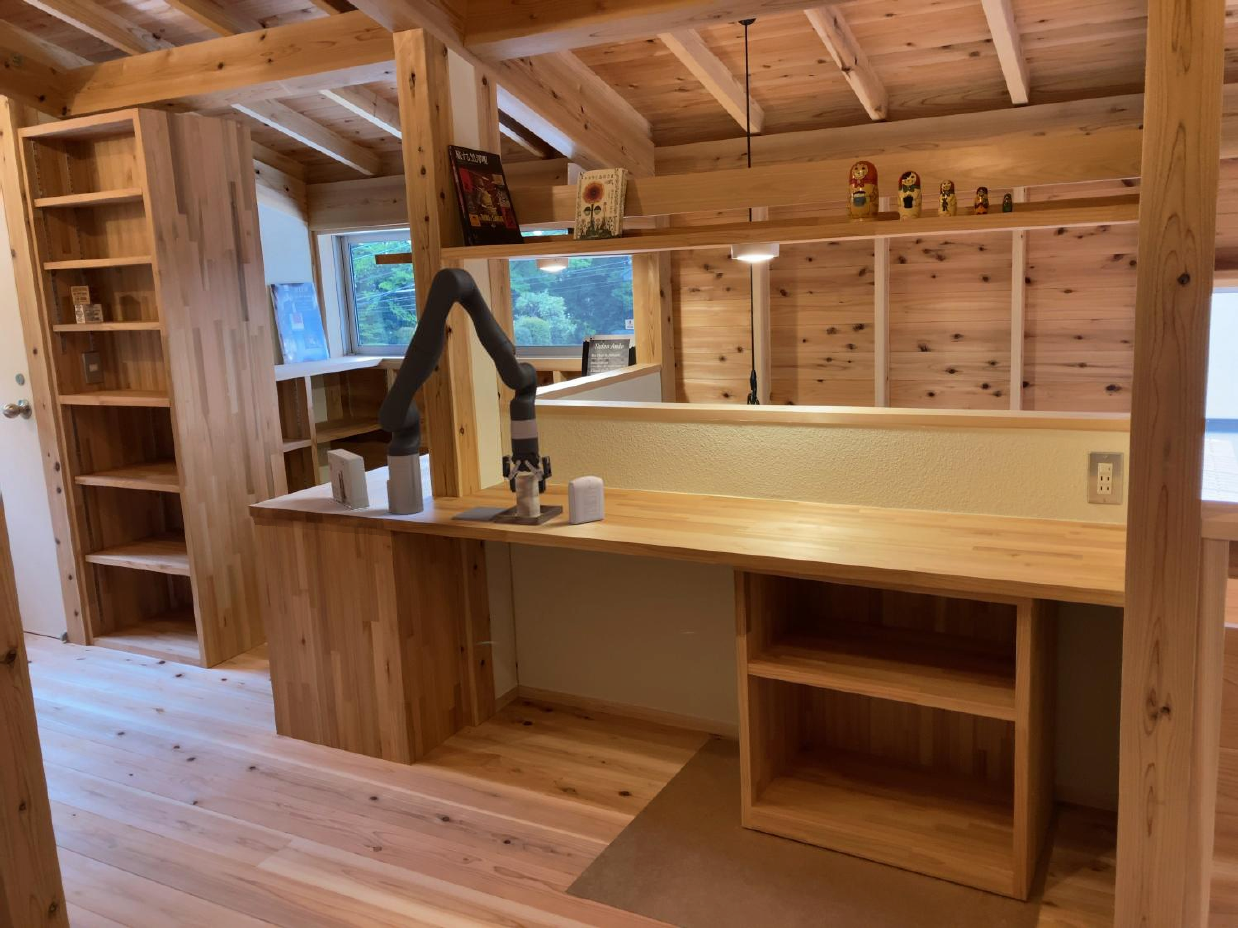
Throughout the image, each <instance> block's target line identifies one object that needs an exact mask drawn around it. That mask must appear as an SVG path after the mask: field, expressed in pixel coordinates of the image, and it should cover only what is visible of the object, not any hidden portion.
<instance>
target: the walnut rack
mask: <svg viewBox="0 0 1238 928" xmlns="http://www.w3.org/2000/svg"><path fill="white" fill-rule="evenodd" d="M563 507H564V506H563V505H554V504H553V505H552V504H551V505H550V504H540V513H542V514H540V516H538V517H528V516H517V504H515V505H512V506H511V507H508V508H509V509H506V510H504V511H502V512H500V513H498V514H495V515H493V516H494V519H493V523H499V524H515V525H527V526H528V525H529V526H540V525H542V524H544V523H546V522H547V521H550V520H551V519H554V518H556V517H557V516H559V515H561V514H563V513H564V508H563Z"/></svg>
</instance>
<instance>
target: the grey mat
mask: <svg viewBox="0 0 1238 928" xmlns="http://www.w3.org/2000/svg"><path fill="white" fill-rule="evenodd" d="M509 508H510V507H496V506H481V505H478V506H475V507H473V508H469V509H468V510H464V511H463V512H460V513H459V514H458V513H457V514H456V515H453V516H451V520H455V519H463V520H462V521H471V520H479V521H478V522H488V521H489V522H491V521H494V516H493V515H495V514H498V513H500V512H502V511H504V510H506V509H509ZM490 520H491V521H490Z"/></svg>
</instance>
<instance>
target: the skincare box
mask: <svg viewBox="0 0 1238 928" xmlns="http://www.w3.org/2000/svg"><path fill="white" fill-rule="evenodd" d="M326 455H327V461H328V469H329V476H330V484H331V492H332V499H333V498H334V499H336V500H337V501H336V500H335V501H336V502H338V501H340V502H342V503H344V504H345V505H347V506H350V507H351V508H353V509H358V510H360V509H359V508H364V509H367V508H366V507H369V508H370V501H369V493H368V485H367V479H366V471H365V470H366V469H365V461H364V457H363V456H360V455H358V454H355V453H353V452H351V451H348V450H345V449H343V448H338V449H332V450H327V451H326ZM334 499H333V500H334ZM340 502H339V503H340ZM342 503H341V504H342ZM344 504H343V505H344ZM345 505H344V506H345ZM347 506H346V507H347ZM351 508H350V509H351ZM353 509H352V510H353Z"/></svg>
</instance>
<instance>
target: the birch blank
mask: <svg viewBox="0 0 1238 928" xmlns="http://www.w3.org/2000/svg"><path fill="white" fill-rule="evenodd" d="M538 481H539V479H538V478H537V477H536V475H534V474H533V473H527V472H526V473H523V474H521V475H520V474H519V475H517V476H516V477H515V485H516V492H515V498H516V505H517V513H516V516H528V517H538V516H540V515H541V512H540V505H541V504H540V494H539V488H538Z"/></svg>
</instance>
